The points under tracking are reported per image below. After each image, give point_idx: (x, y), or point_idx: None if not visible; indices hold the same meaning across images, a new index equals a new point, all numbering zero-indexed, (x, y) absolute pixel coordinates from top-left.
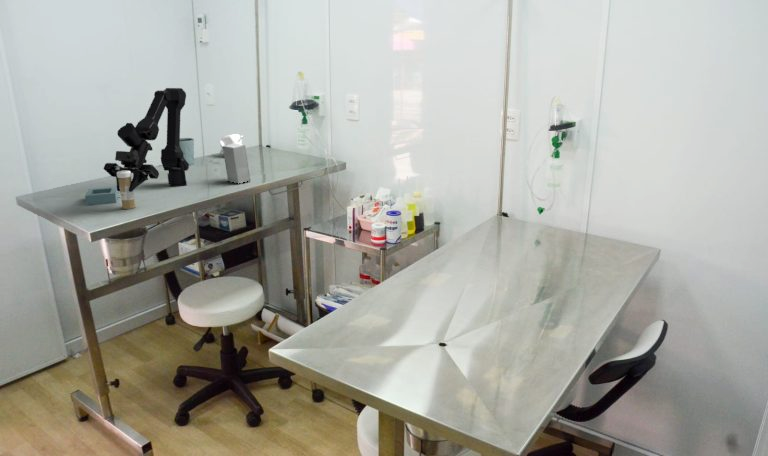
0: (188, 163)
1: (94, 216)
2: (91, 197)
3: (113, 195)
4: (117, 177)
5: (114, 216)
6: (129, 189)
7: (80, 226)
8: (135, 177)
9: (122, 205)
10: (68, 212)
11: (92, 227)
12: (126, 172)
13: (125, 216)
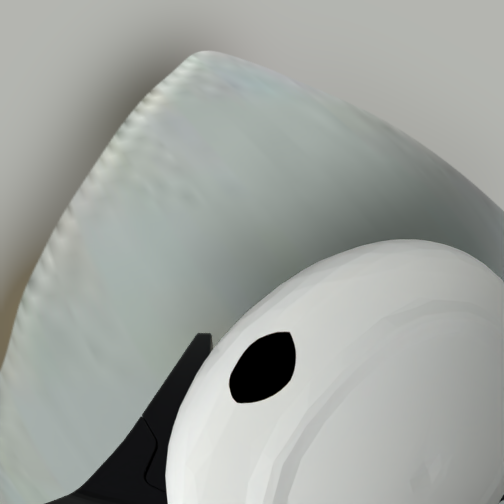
0: None
1: (338, 177)
2: None
3: None
4: None
5: (234, 189)
6: (203, 338)
7: (285, 76)
8: (118, 484)
9: (290, 334)
10: (470, 219)
11: (231, 72)
12: (208, 407)
13: (171, 200)
